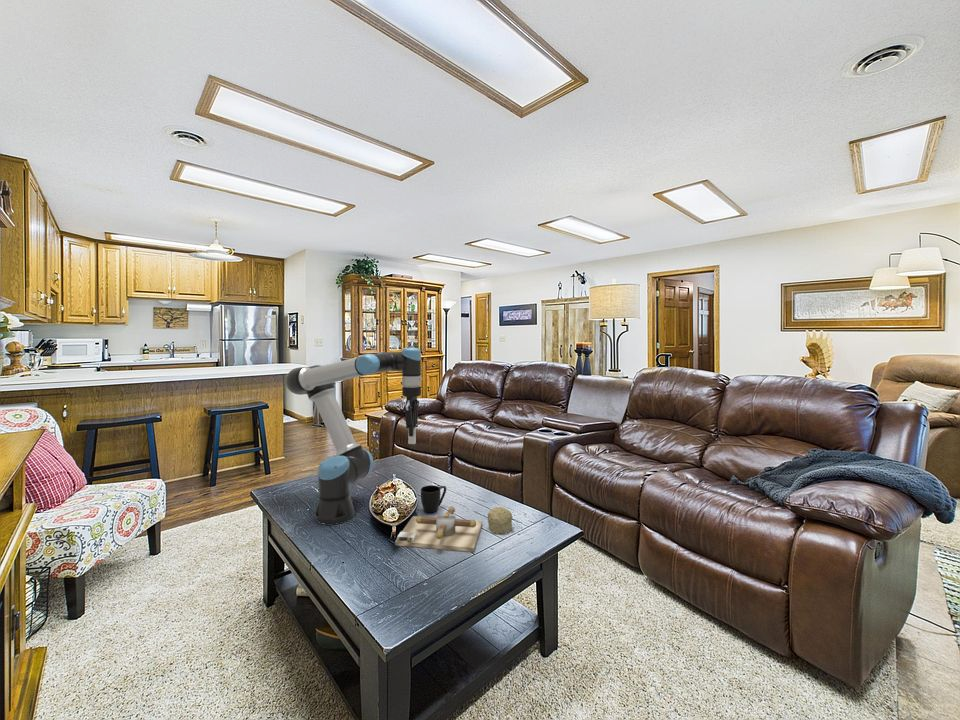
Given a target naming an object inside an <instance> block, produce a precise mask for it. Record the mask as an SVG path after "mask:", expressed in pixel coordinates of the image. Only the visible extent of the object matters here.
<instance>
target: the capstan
mask: <svg viewBox="0 0 960 720" xmlns="http://www.w3.org/2000/svg"><path fill="white" fill-rule="evenodd" d="M455 511H456V509H455V507H454V506H450V507H448V508H447V512H445V513H441V514H439V515H437V516H436V517H433V516H421V515H418V517H417V518H416V522H417V523H418V524H434V525H436V532H437V533H436V538H437V539H441V538H442V537H443V536H448V535H452V534H454V533H455V526H462V527H472V528H473V527H475V526H476V521H477V520H475V519H460V518H456V516H455V515H454V513H455Z"/></svg>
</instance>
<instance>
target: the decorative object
mask: <svg viewBox="0 0 960 720" xmlns="http://www.w3.org/2000/svg"><path fill="white" fill-rule="evenodd" d="M512 521H513V513H512V512H511V511H510V509H507V508H504V507H502V506H501V507H500V506H495V507H494V508H492V509H490V510H489V511H488V512H487V523H488V530H489V529H490V530H489V531H490V532H491V533H492V532H493V534H494V533H496V534H495V535H501V534H503V533H504V534H507V533H506V532H508V531H509V532H511V530H512V528H513V524H512ZM509 532H508V533H509ZM500 533H501V534H500Z"/></svg>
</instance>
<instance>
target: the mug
mask: <svg viewBox="0 0 960 720" xmlns="http://www.w3.org/2000/svg"><path fill="white" fill-rule="evenodd" d="M442 489H443V491H442V494H441V490H442ZM446 493H447V486H445V485H442V486H438V485H432V484H430V485H424V486H422V487H421V488H420V502H421V506H422V508H423V512H424V513H425V514H428V515H432V514H436V513H437V512H438V510H439V507H440V506H441V504H442V503H443V500H444V499H445V495H446Z"/></svg>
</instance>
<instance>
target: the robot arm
mask: <svg viewBox="0 0 960 720" xmlns="http://www.w3.org/2000/svg"><path fill="white" fill-rule="evenodd" d="M421 354H422V353H421V349H420V348H418V347H404V348H402V349H401V352H389V351H388V352H386V351H383V352H377V353H366V354H362V355H360V356H358V357H357V356H356V357H353V358H350V359H346V360H340V361H337V362H333V363H329V364H324V365H320V364H318V365H317V364H316V365H310V366H304V367H303V366H302V367H296V368H292V370H290V371H289V372H288V373H287V375H286V377H285V386H286V388H287V389H288V390H289V392H290V393H293V394H294V395H297V396H298V395H300V396H301V395H307V397H308V400H309V401H311V402H314V403H315V406H316V408H317V412H319V414H320V415H319V416H320V417H321V420H322V421H323V423H324V426H325V428H326V430H327V434H328V435H329V437H330V439H331V442H332V444H333V446H334V448H335V451H336V452H335V455H333V456H330V457H327V458H325V459H323V460H322V461H321V462H320V463H319V464H318V473H317V476H318V502H317V505H316V509H315V512H314V520H315V519H316V520H317V521H318V522H320V523H325V524H335V525H337V524H336V523H340V524H342V523H341V522H343V523H345V522H344V521H346V522H348V521H350V520H351V519H353V518H354V516H355V507H354V504H353V501H352V499H351V495H350V494H351V493H350V492H351V491H350V485H353V484H354V483H357V482H358V481H360V480H362V479H364V478H366V477H367V476H368V475H369V474H370V473H371V472H372V470H373V467H374V458H373V455H372V454H371V452H370V451H369V450H367V449H365V448H363V447H362V445H361V444H360V443H357V442H356V440H355V438H354V436H353V433H352V431H351V429H350V427H349V425H348V424H349V423H347V420H346V418H345V416H344V414H343V413H344V412H343V411H342V410H341V409H342V408H341V407H340V405H339V402H338V400H337V398H336V396H335V391H336V387H335V385H336V383H338V382H342V381H346V380H351V379H355V378H360V377H363V376H364V377H365V376H368V375H369V376H370V375H372V374H373V375H374V374H378V373H385V372H401V385H402V388H401V391H402V393H401V394H402V396H403V397H406V400H405V405H404V406H403V410H404V417H405V418H404V420H405V429H407V430H408V431H407V433H408V434H407V438H408V440H407V442H408V443H407V444H408V445H416V443H417V442H416V441H417V437H416V436H417V434H416V433H417V428H419V427H418V426H419V425H418V423H419V422H418V420H419V408H420V407H419V405H420V401H419V400H418V398H419V397H420V396H421V395H422V387H421V385H422V381H423V378H422V356H421ZM352 517H353V518H352ZM350 518H351V519H350ZM349 519H350V520H349ZM347 520H348V521H347Z"/></svg>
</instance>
